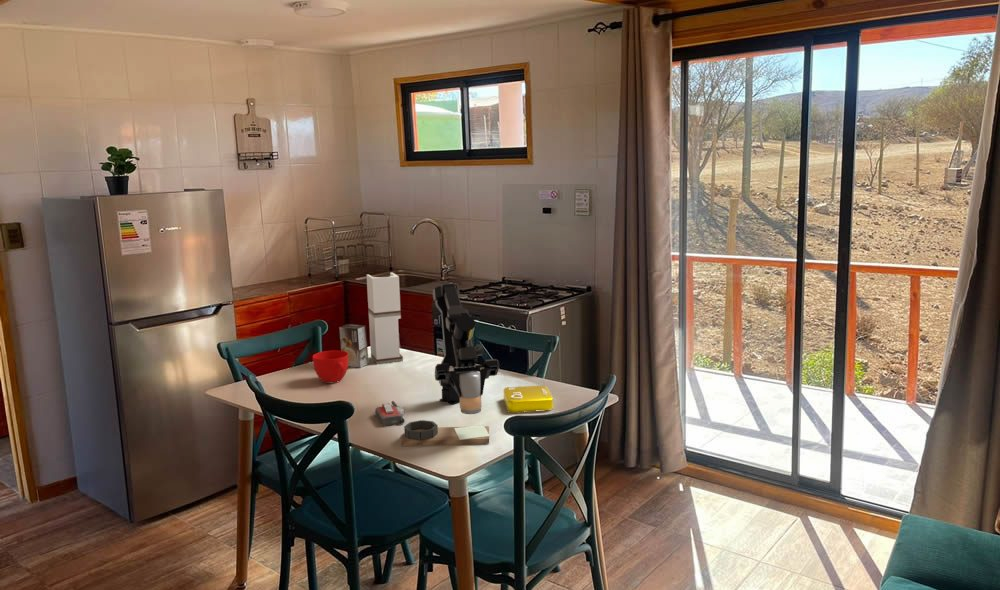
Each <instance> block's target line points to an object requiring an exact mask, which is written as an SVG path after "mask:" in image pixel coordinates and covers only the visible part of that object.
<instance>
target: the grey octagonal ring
mask: <svg viewBox="0 0 1000 590" xmlns="http://www.w3.org/2000/svg"><path fill="white" fill-rule="evenodd" d="M403 427H404V428H403V429H404V430H403V431H404V432H403V433H405V436H406V437H407V438H408V439H413V440H425V439H430V438H433V437H435V436H436V435H437V434H438V427H439V426H438V424H437V423H436V422H435V421H433V420H426V419H422V420H419V419H418V420H415V421H410V422H408V423H407V424H406V425H404V426H403ZM418 429H428V430H424V431H414V430H418Z"/></svg>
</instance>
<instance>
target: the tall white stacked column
mask: <svg viewBox="0 0 1000 590" xmlns="http://www.w3.org/2000/svg"><path fill="white" fill-rule="evenodd" d="M366 287H367V288H366V289H367V290H366V291H367V292H366V293H367V303H368V304H367V305H368V306H367V307H368V323H369V326H368V327H369V344H370V345H369V346H370V358H371V359H372V360H373V361H375V362H374V363H375V364H376V365H377V364H378V365H383V363H386V364H393V362H394V363H399V362H401V361H402V362H403V360H404V357H403V355H402V354H401V353H400V352H401V350H400V349H401V348H400V333H399V319H402V315H401V314H402V313H401V310H402V309H401V294H400V292H401V290H400V276H399V275H397V274H396V273H394V272H390V273H389V276H382V277H381V276H380V277H379V276H378V277H376V276H372V275H370V274H366Z"/></svg>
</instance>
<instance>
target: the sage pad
mask: <svg viewBox="0 0 1000 590" xmlns="http://www.w3.org/2000/svg"><path fill="white" fill-rule="evenodd" d="M484 426H485V425H471V426H460V427H461V428H454V430H455V432H456V434H457V436H458V438H459V440H464V439H473V438H482V437H489V438H490V437H491V435H490V432H489V433H488V432H487V430H486V428H485V427H484Z"/></svg>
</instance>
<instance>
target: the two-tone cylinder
mask: <svg viewBox="0 0 1000 590" xmlns="http://www.w3.org/2000/svg"><path fill="white" fill-rule="evenodd" d="M459 376H460V390H461V397H460V402H459V408H460V413H462V414H464V415H476V414H479V413H481V412H482V395H481V387H480V372H463V373H461V374H460V375H459Z"/></svg>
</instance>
